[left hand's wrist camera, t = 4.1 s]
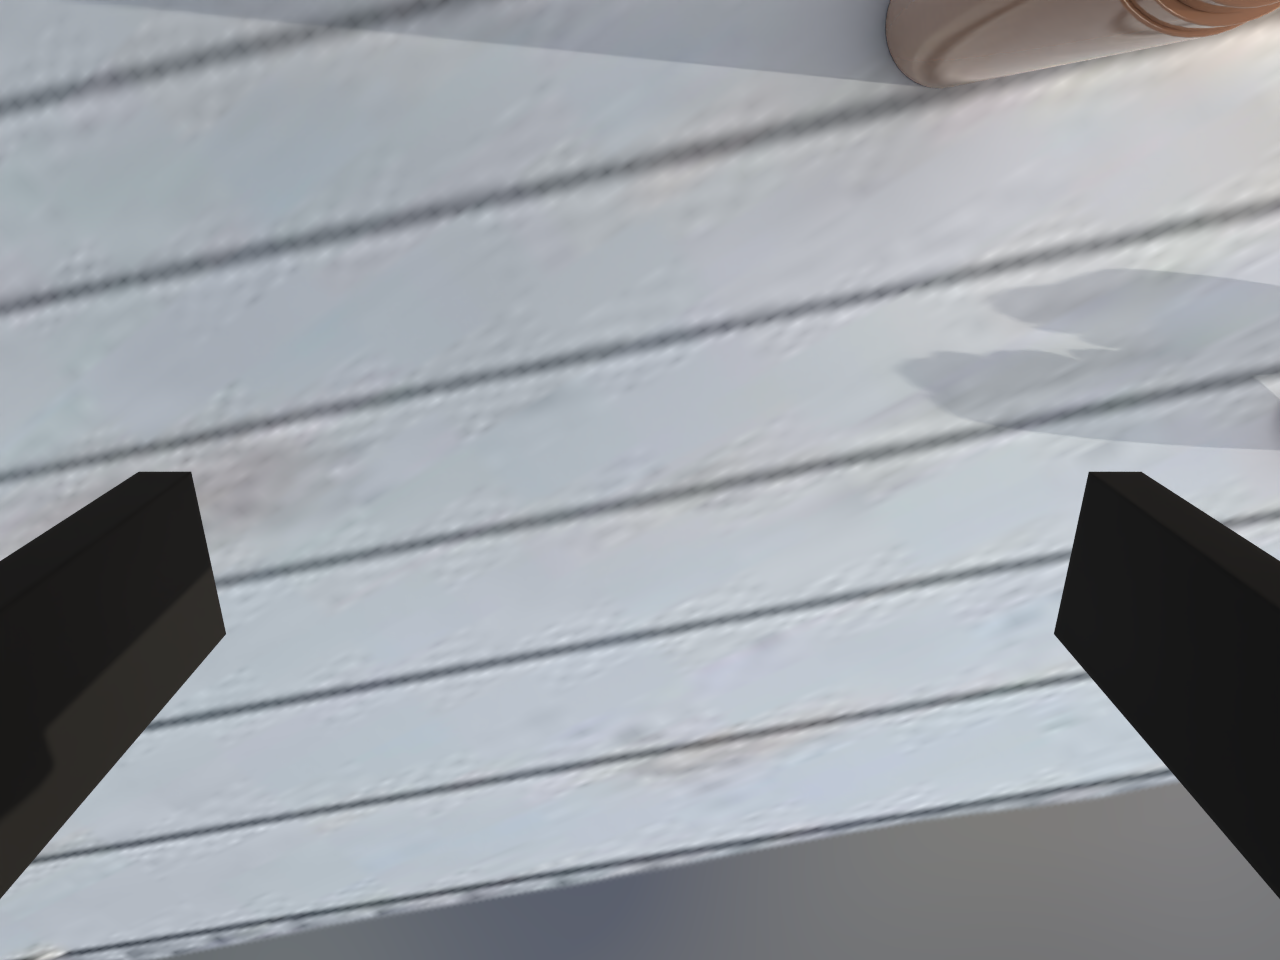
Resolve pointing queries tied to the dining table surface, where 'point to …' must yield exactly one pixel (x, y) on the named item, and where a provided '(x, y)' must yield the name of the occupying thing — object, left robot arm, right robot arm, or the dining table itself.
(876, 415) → the dining table surface
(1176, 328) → the dining table surface
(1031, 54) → the bottle
